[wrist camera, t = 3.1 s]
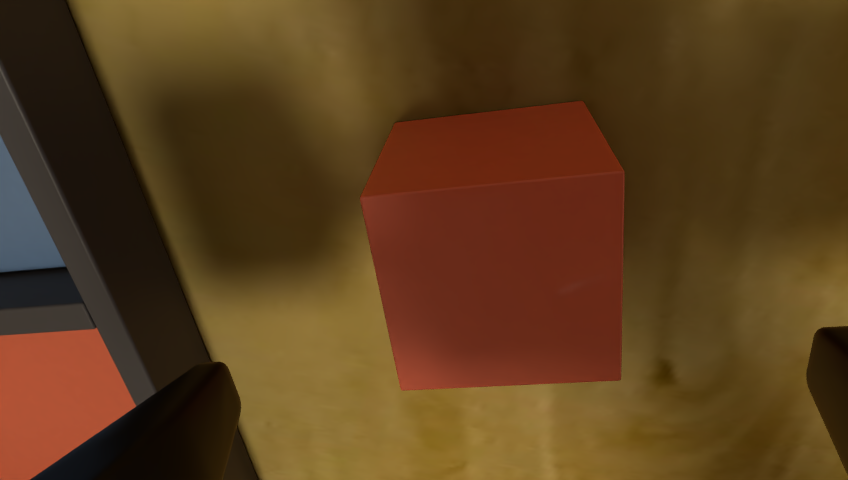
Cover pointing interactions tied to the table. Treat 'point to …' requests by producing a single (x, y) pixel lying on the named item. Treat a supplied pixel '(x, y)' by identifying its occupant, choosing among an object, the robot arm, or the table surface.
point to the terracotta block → (499, 248)
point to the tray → (76, 257)
